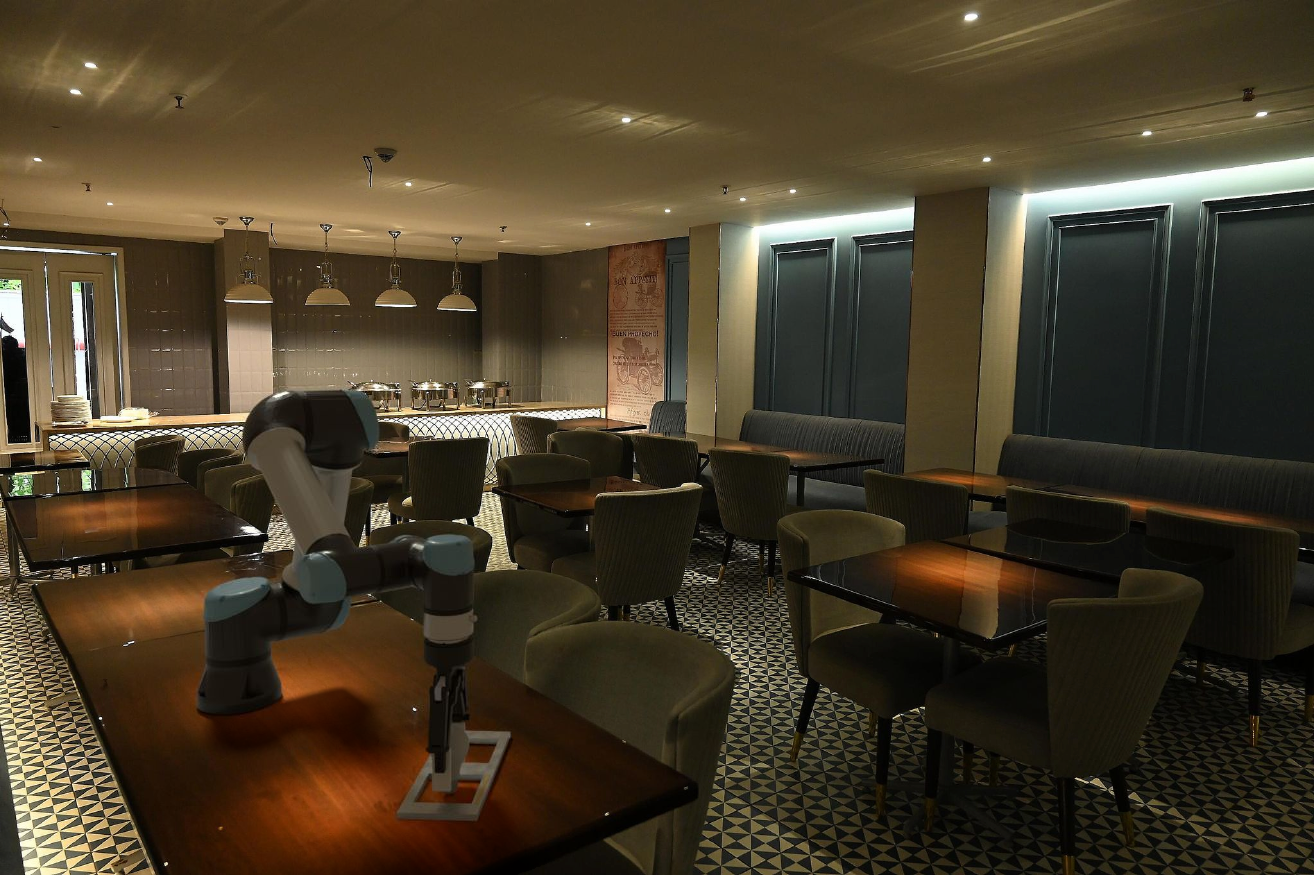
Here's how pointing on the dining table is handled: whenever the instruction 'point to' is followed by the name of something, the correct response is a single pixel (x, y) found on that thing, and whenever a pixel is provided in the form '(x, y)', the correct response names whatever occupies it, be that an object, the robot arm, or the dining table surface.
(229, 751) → the dining table surface
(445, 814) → the grey window frame
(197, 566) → the dining table surface
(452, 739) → the lightbulb
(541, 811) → the dining table surface
